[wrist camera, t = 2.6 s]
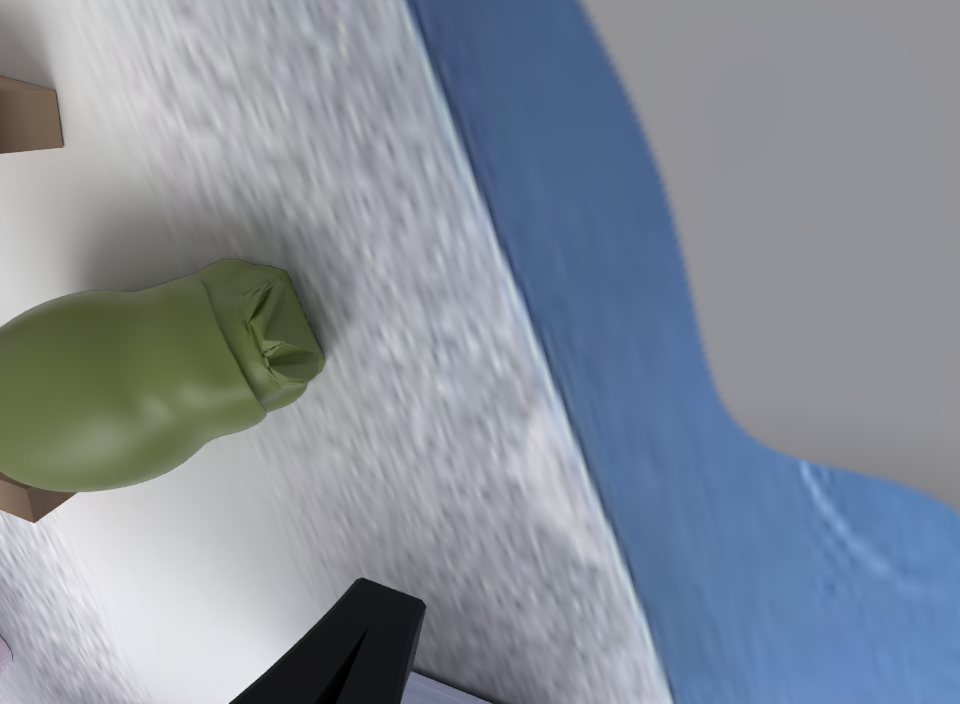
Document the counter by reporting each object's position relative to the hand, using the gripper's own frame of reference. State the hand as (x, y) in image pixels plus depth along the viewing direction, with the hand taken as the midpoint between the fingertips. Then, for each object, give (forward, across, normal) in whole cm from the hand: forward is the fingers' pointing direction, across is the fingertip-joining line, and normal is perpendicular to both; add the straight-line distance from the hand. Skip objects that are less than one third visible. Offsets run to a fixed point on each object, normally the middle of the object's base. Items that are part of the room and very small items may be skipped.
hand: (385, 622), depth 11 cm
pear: (+7, +9, 0) cm, 11 cm away
